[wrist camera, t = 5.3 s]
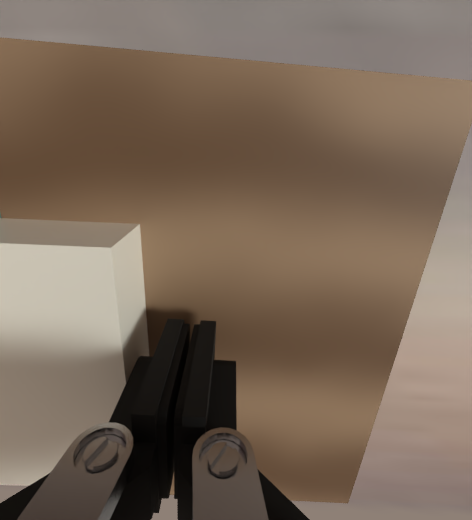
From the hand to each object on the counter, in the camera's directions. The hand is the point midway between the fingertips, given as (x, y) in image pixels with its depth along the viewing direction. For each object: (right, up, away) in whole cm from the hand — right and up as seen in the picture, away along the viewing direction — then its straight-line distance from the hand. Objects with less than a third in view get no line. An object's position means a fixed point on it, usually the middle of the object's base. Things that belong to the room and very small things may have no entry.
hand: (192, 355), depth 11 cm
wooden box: (+1, +2, +4) cm, 5 cm away
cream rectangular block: (-5, 0, 0) cm, 5 cm away
